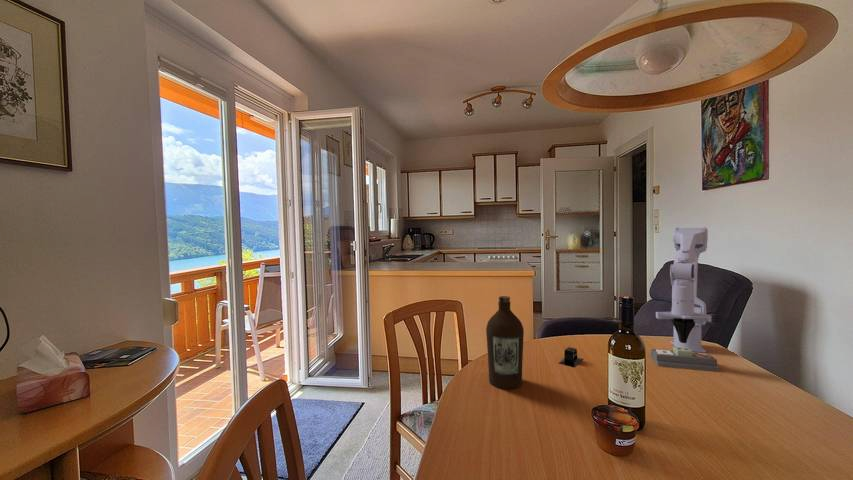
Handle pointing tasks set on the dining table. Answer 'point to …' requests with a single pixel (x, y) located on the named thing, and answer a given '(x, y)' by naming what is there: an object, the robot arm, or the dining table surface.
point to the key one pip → (664, 352)
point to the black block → (571, 358)
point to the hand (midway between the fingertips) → (682, 342)
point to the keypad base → (684, 361)
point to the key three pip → (701, 355)
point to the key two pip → (682, 351)
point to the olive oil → (505, 347)
